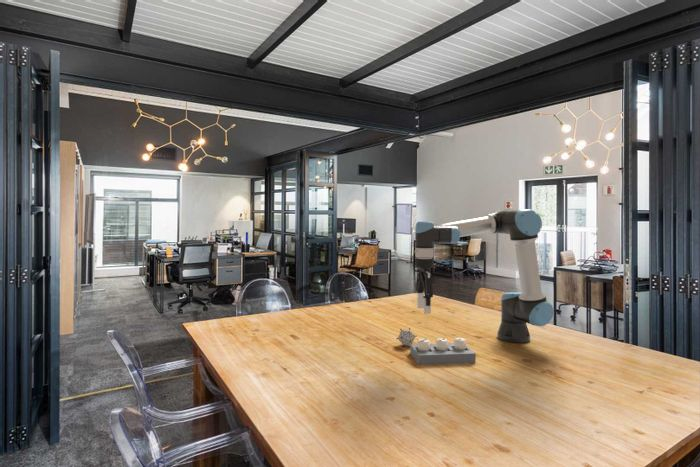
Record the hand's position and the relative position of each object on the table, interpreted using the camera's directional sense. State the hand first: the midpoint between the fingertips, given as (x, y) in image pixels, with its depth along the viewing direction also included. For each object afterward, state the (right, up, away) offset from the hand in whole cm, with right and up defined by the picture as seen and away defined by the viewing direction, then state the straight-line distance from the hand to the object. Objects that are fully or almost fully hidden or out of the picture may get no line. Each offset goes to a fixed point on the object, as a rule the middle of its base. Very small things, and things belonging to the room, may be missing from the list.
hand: (423, 310), depth 170 cm
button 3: (0, -18, +1) cm, 18 cm away
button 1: (+16, -18, +2) cm, 24 cm away
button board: (+8, -21, +1) cm, 22 cm away
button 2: (+8, -18, +1) cm, 20 cm away
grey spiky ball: (-5, -20, +18) cm, 28 cm away
